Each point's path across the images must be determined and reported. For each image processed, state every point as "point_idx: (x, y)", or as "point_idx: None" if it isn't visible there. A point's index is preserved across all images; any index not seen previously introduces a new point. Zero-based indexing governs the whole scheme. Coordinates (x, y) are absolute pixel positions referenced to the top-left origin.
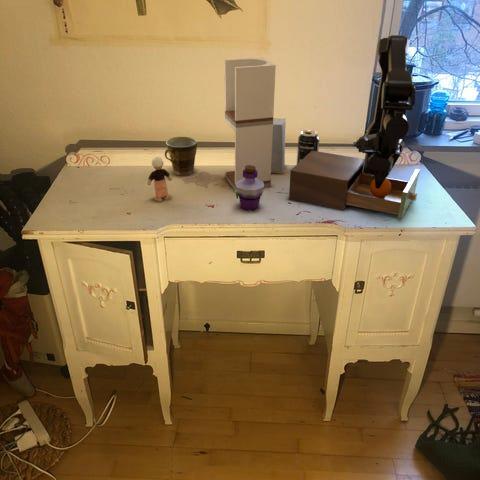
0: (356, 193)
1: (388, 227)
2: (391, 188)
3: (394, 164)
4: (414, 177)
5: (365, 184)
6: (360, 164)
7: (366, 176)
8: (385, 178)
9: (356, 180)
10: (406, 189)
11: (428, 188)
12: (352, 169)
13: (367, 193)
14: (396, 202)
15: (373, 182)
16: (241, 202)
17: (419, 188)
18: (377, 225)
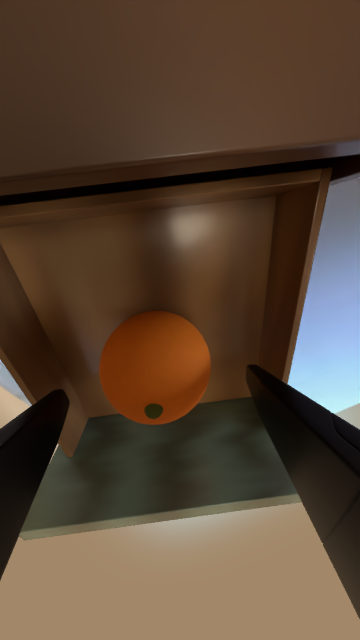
0: (133, 234)
1: (25, 400)
2: (261, 347)
3: (300, 495)
4: (218, 512)
5: (271, 231)
6: (318, 140)
7: (301, 229)
8: (161, 420)
9: (172, 198)
10: (55, 531)
11: (336, 396)
12: (11, 85)
13: (167, 283)
14: (62, 445)
15: (114, 357)
16: None
17: (331, 380)
18: (7, 377)
